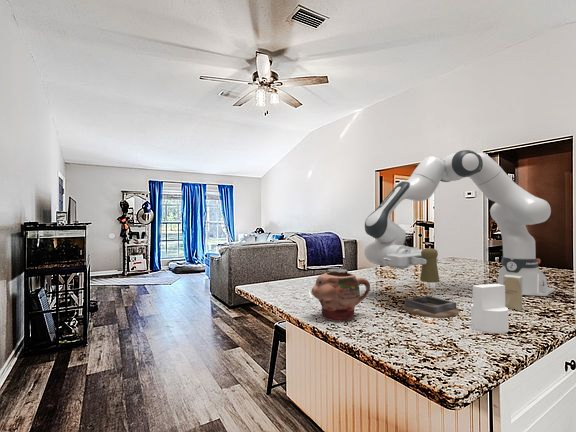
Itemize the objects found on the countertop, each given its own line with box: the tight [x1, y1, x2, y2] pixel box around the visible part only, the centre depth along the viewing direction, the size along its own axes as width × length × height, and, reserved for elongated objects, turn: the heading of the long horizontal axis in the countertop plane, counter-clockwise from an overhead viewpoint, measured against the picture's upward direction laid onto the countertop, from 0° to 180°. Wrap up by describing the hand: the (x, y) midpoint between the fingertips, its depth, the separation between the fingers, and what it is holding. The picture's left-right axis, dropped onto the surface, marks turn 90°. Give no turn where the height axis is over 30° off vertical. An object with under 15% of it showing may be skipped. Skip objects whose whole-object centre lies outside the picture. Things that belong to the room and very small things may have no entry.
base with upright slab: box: [470, 283, 510, 334], centre depth 91 cm, size 9×9×12 cm
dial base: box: [403, 295, 460, 319], centre depth 109 cm, size 17×17×3 cm
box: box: [503, 275, 523, 311], centre depth 110 cm, size 5×4×11 cm
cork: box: [420, 247, 440, 284], centre depth 109 cm, size 6×6×11 cm
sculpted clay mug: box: [311, 271, 371, 322], centre depth 103 cm, size 20×12×14 cm, turn 110°
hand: (431, 261), depth 108 cm, fingers closed on cork, 4 cm apart
